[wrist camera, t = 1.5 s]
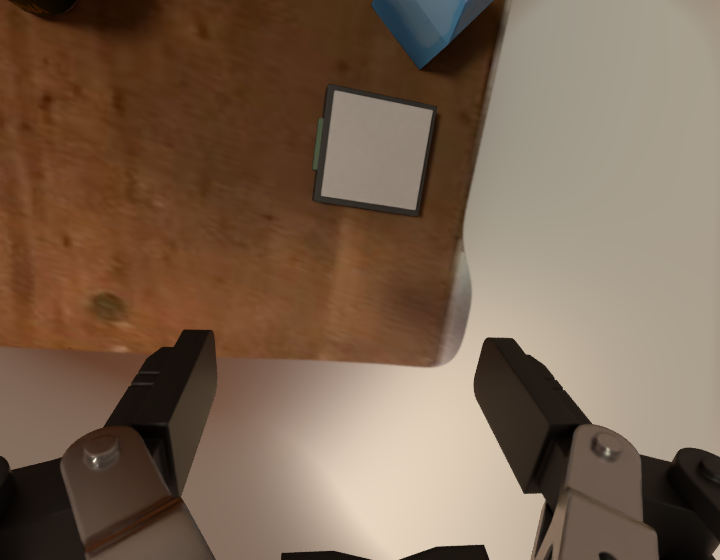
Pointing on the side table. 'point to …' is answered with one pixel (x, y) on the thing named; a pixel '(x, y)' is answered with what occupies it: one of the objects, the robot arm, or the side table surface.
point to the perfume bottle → (427, 23)
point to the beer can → (45, 6)
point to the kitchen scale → (372, 151)
